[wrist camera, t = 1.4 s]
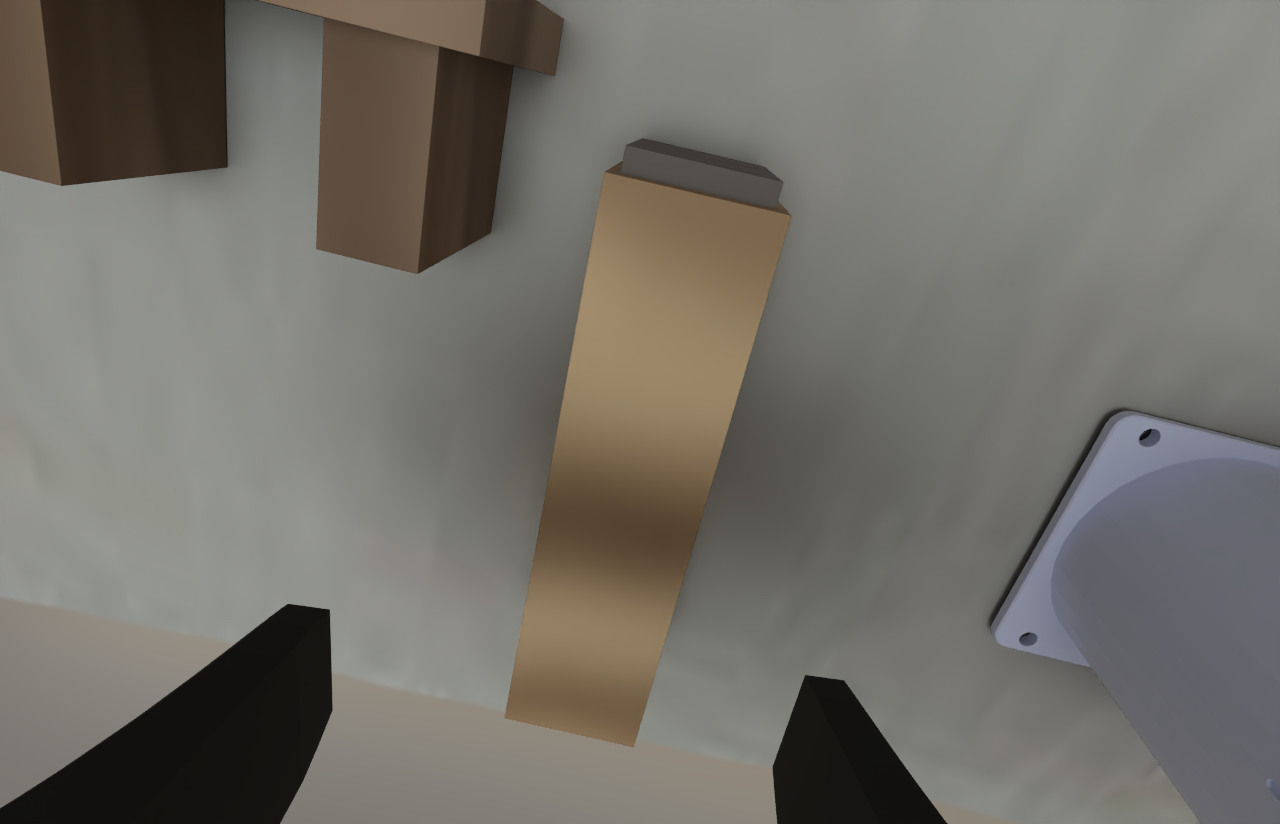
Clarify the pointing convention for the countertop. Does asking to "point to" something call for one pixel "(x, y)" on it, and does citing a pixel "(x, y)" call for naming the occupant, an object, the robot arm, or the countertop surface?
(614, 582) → the rail
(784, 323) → the countertop surface
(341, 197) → the brown wooden stool
